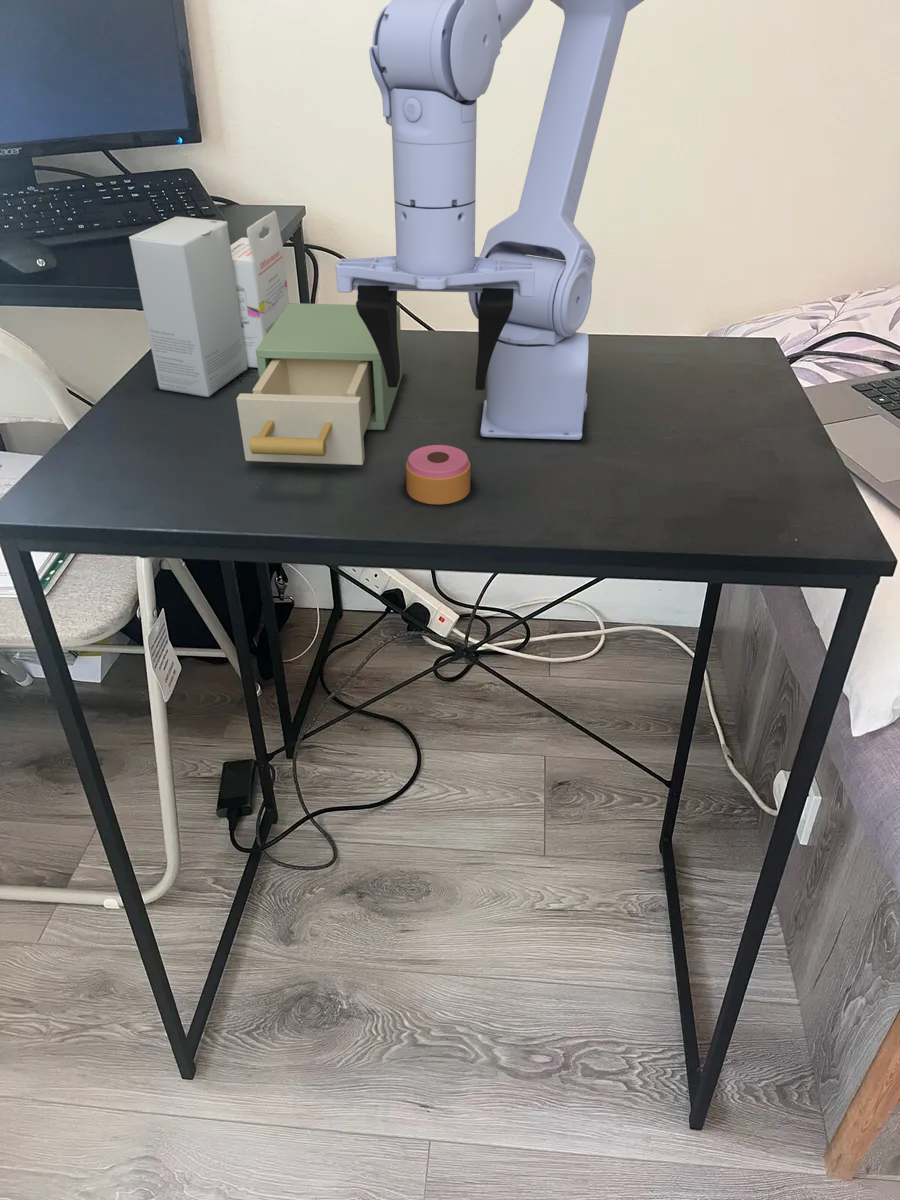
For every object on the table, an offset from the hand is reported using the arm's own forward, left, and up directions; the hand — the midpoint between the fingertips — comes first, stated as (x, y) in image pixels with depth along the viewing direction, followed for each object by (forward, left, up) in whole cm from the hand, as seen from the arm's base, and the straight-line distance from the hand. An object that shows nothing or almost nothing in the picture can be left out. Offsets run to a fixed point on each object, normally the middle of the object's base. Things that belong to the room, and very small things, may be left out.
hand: (437, 384), depth 71 cm
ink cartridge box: (+23, -30, -10) cm, 39 cm away
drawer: (+12, -6, -9) cm, 16 cm away
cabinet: (+12, -18, -9) cm, 24 cm away
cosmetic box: (+27, -22, -10) cm, 36 cm away
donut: (0, 0, -9) cm, 9 cm away
